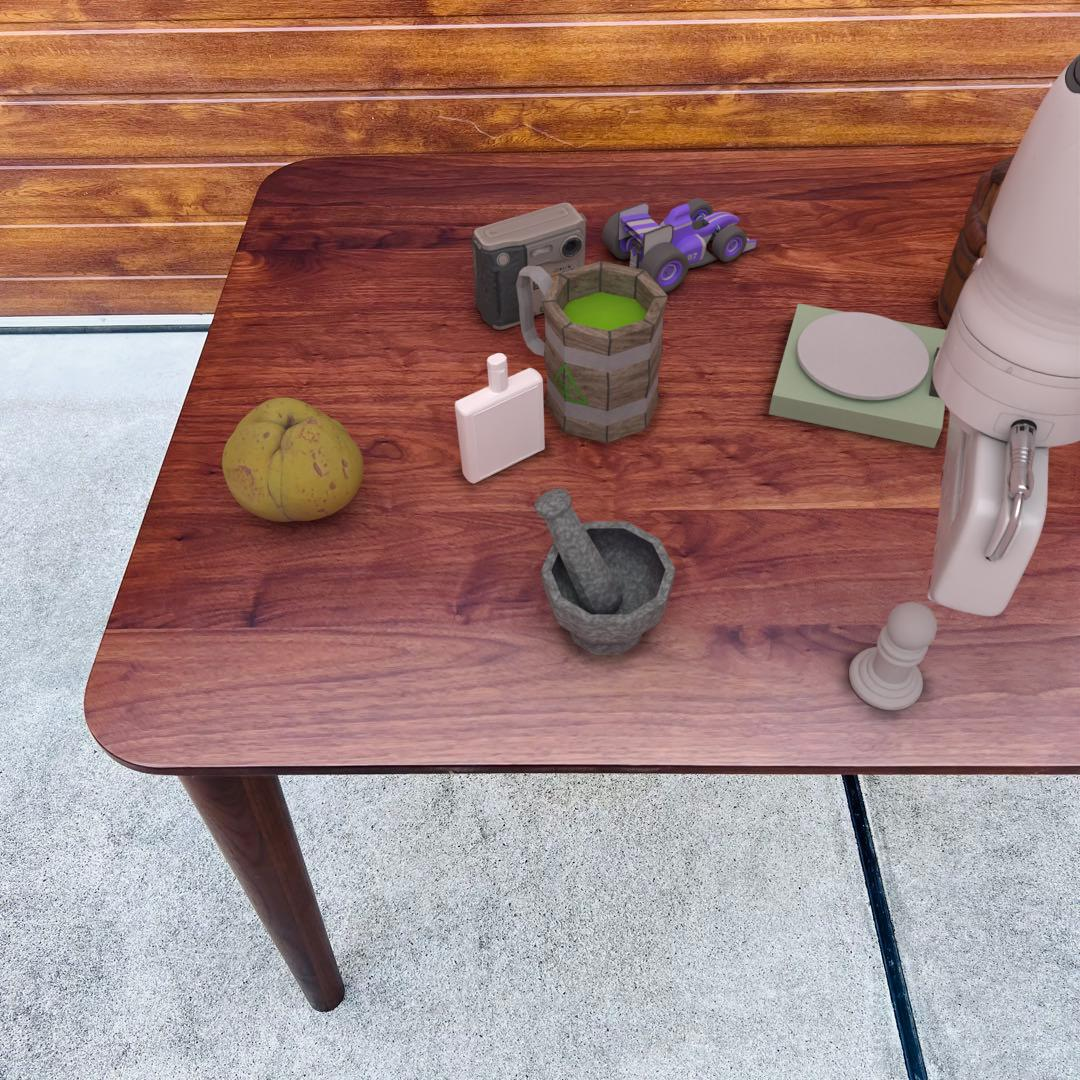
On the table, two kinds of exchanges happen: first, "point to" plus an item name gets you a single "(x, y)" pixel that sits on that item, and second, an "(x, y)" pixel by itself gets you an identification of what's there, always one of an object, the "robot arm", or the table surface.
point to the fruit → (291, 462)
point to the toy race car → (674, 240)
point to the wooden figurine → (971, 238)
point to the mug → (597, 346)
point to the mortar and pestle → (602, 577)
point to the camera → (523, 258)
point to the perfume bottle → (500, 421)
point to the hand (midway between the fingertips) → (948, 535)
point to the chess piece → (895, 659)
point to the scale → (861, 375)
